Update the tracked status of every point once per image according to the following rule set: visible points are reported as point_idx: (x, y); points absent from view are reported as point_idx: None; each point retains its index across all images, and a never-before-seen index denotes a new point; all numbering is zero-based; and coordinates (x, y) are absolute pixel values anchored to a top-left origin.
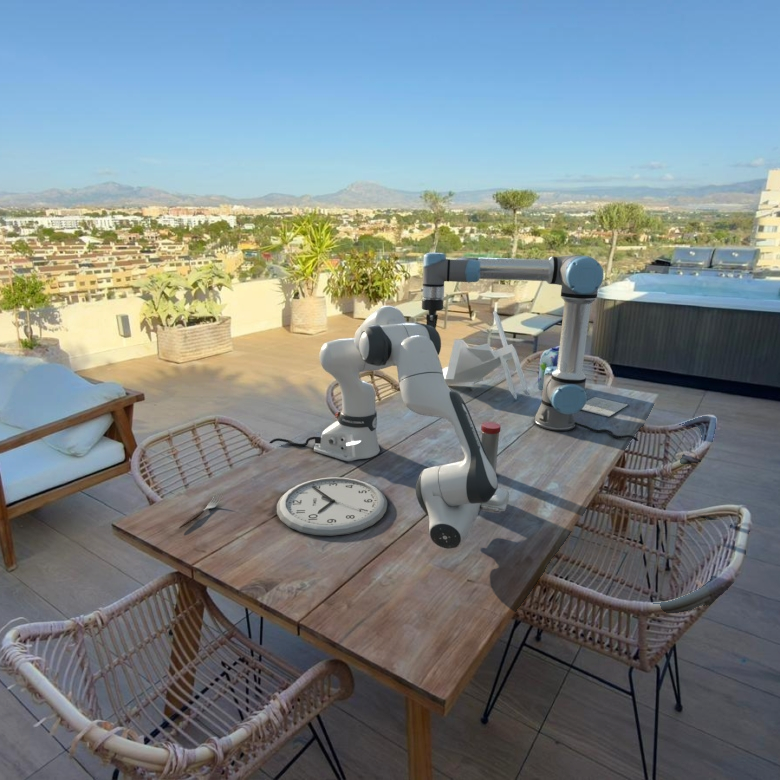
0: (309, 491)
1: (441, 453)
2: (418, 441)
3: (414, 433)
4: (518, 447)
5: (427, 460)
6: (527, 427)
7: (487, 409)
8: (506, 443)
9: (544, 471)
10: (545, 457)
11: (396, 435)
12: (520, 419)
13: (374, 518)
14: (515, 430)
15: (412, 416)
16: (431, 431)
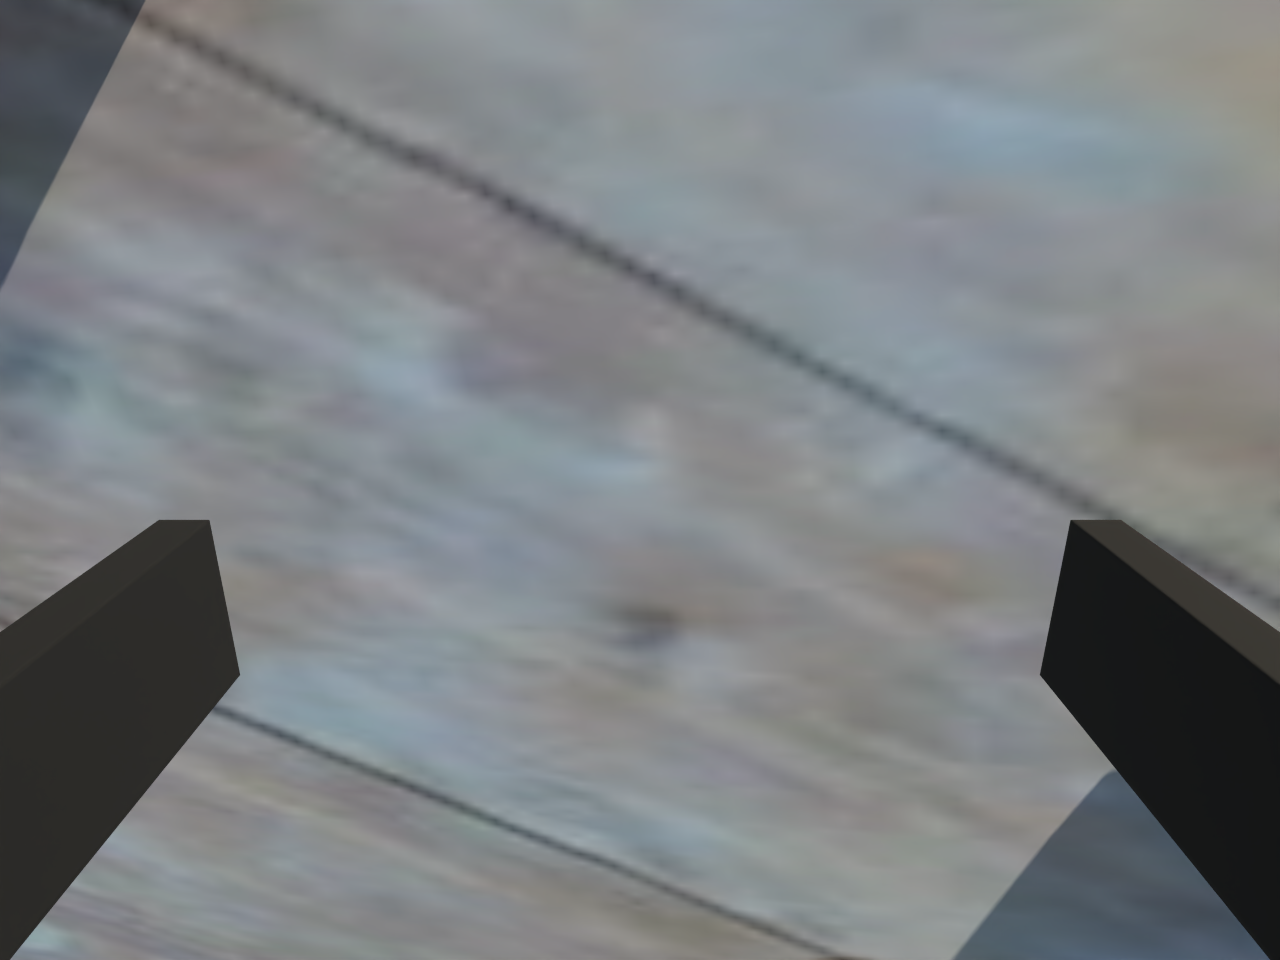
0: None
1: (214, 433)
2: (377, 260)
3: (532, 216)
4: (444, 847)
5: (68, 345)
6: (767, 916)
7: None
8: (488, 797)
9: (170, 920)
10: (344, 944)
11: (456, 61)
12: (904, 897)
13: None
14: (708, 856)
15: (930, 166)
16: (599, 349)
